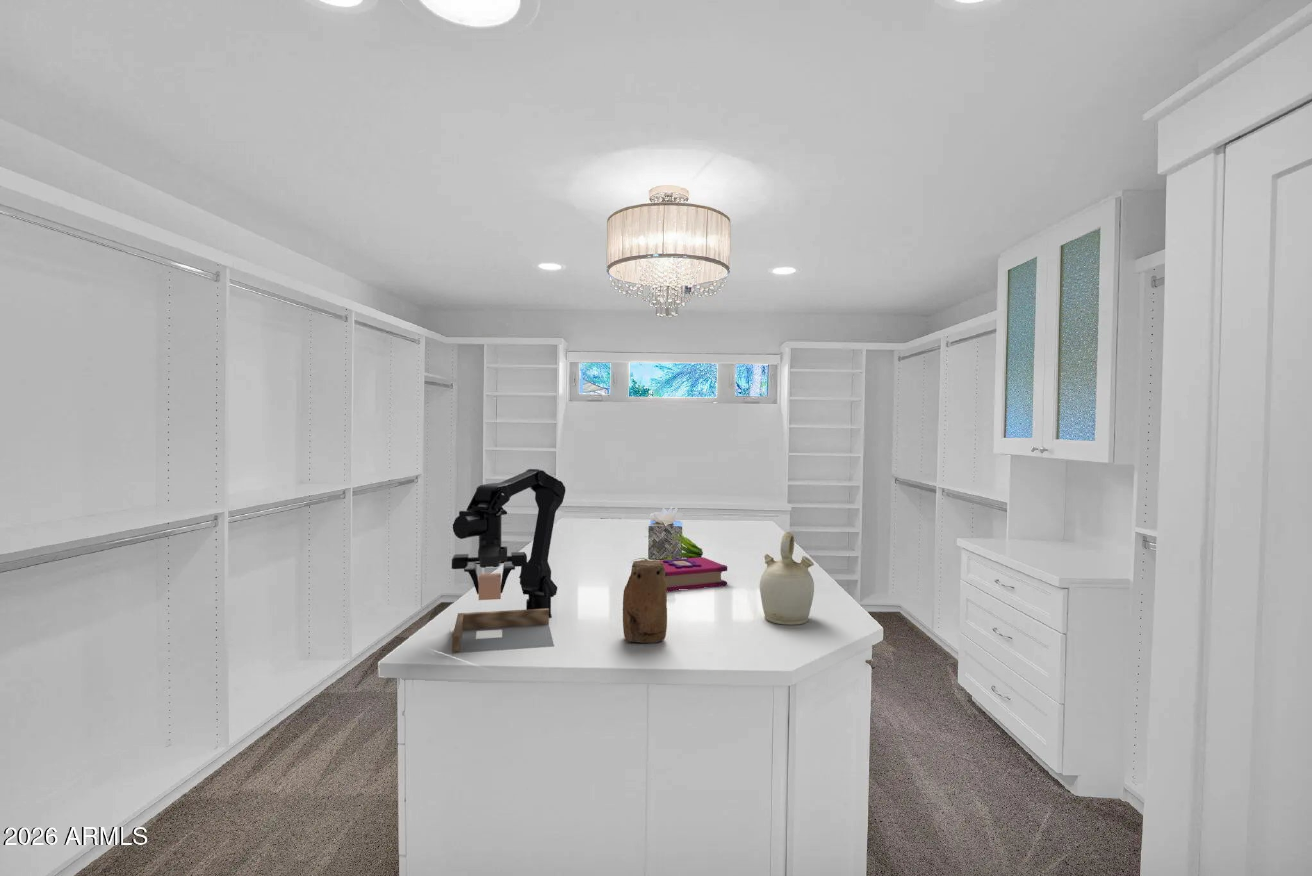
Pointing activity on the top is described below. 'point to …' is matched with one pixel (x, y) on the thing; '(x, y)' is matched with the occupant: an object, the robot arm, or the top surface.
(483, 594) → the cube
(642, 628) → the brown carved figurine
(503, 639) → the mat
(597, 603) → the top surface
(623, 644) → the top surface
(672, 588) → the book
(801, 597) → the jug
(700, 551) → the decorative plant
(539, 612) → the corner walls
